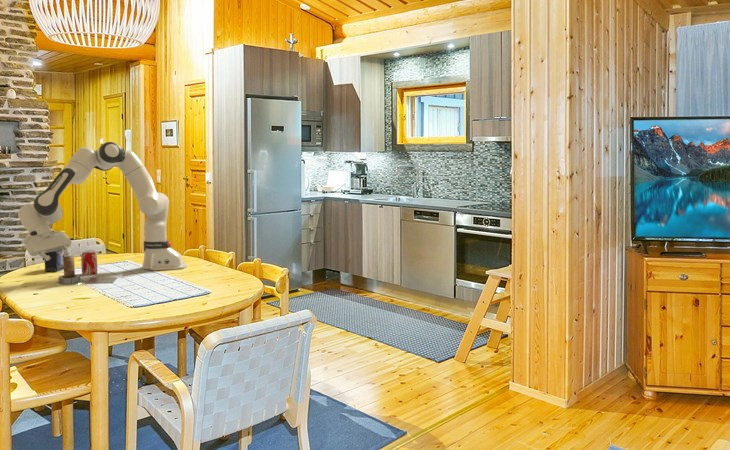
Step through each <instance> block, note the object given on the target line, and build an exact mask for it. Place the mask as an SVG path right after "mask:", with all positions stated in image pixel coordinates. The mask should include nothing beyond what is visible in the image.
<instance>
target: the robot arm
mask: <svg viewBox="0 0 730 450" xmlns="http://www.w3.org/2000/svg"><path fill="white" fill-rule="evenodd" d="M114 167H117V168H118V169H119V170H120V171H121V173H122V174H123V177H124V178H125V179H126V181H127V182H128V184H129V186H130V187H131V189H132V191H133V192H134V196H135V198H136V201H137V203H138V208H139V210H140V212H141V213H143V214H144V215H145V216H146V217H145V223H144V227H143V231H144V238H143V239H144V240H143V252H144V255H143V263H142V267H141V268H142V269H144V270H150V271H165V270H180V269H181V270H182V269H186V268H187V267H188V265H187V263H186V262H183V257H182V254H181V253H180V252H178V251H177V250H175V249H174V248H172V242H171V241H170V240H168V238H167V237H168V236H167V234H168V233H167V225H168V224H167V223H168V215H169V206H170V200H169V199H170V198H169V197H168V196H167V195H166V194H165V193H163V192H160V191H159V192H158V191H157V190H156V187H155V183H154V181H153V178H152V176H151V175H150V173H149V171H148V169H147V168H146V166H145V165H144V164H143V162H142V160H141V159H140V158H139V157H138V156H137V154H136V153H135V152H134V151H132V150H125V149H124V148H122V147H121V146H120V145H119V144H118V143H115V142H112V141H108V142H106V141H105V142H104V143H102V144H101V146H100V147H98V148H97V149H96V150H94V149H92V148H89V147H85V146H84V147H80V148H78V150H77V151H75V153H74V154H73V155H72V156H71V158H70V159H69V161H68V162H67V163H66V165H65V166H64V168H63V169H62V170H60V171H59V173H58V174H57V175H56V176H55V178H54V179H52V181H51V183H50V184H49V185H48V186H47V188H46V189H45V190H43V191H42V192H41V193H39V194H38V195H37V196H36V197H35V198H34V199H33V204H32V203H26V204H24V205H22V206H21V207H19V210H18V212H17V216H18V219H19V221H20V222H21V224H22V225H23V227H24V229H26V230H27V232H28V233H27V234H26V235H25V237H24V238H23V241H22V243H23V245H25V246H24V247H25V249H26V252H27V253H28V254H29V255H30V256H32V257H35V256H40V257H41V258H43V259H44V261H45V260H46V261H48V260H50V259H51V258H50V256H49V255H48V256H47V255H46V254H44V253H48V252H52V251H56V250H60V249H62V250H64V253H63V254H64V256H70V253H69V251H68V248H70V246H71V245H72V244H73V243H72V242H73V241H72V240H71V238H70V237H69V236H68V235H67V234H66V233H65V232H64V231H61V230H57V231H53V230H52V228H51V227H50V225H53V224H55V223H58V222H59V221H61V219H62V218H63V216H64V212H63V211H64V210H63V209H62V206H61V205H60V202H59V201H60V197H61V195H62V194H63V192H65V190H66V189H67V187H68V186H69V185H71V184H72V185H80V184H83V183H84V182H85V181H86V180H87V179H88V178H89V176H90V174H91V173H92V171H93V170H94V169H95V170H99V171H102V172H106V171H107V172H108V171H109V170H112V169H113V168H114Z"/></svg>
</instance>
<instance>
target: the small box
mask: <svg viewBox="0 0 730 450" xmlns="http://www.w3.org/2000/svg"><path fill="white" fill-rule="evenodd" d="M63 253H64V250H62V249H60V250H56V251H52V252H48V253H44V254H46V255H47V256H48V255H49V256H50V258H51V259H50V260H48V261H46V260H45V259H44V272H59V271H62V270H64V262H63V257H65V256H64V254H63Z"/></svg>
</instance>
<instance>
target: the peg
mask: <svg viewBox="0 0 730 450" xmlns="http://www.w3.org/2000/svg"><path fill="white" fill-rule="evenodd" d="M63 262H64V269H63V275H64V278H71V277H75V274H76V272H75V271H76V270H75V269H76V268H75V256H74V255H68V256H65V257H63Z"/></svg>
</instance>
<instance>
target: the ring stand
mask: <svg viewBox="0 0 730 450" xmlns="http://www.w3.org/2000/svg"><path fill="white" fill-rule="evenodd" d="M54 284H55V286H60V287H64V286H65V287H69V286H77V285H82V284H85V280H81V275H80V274H76V273H75V277H71V278H64V274H63V275H60V276H58V282H56V283H54Z"/></svg>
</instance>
